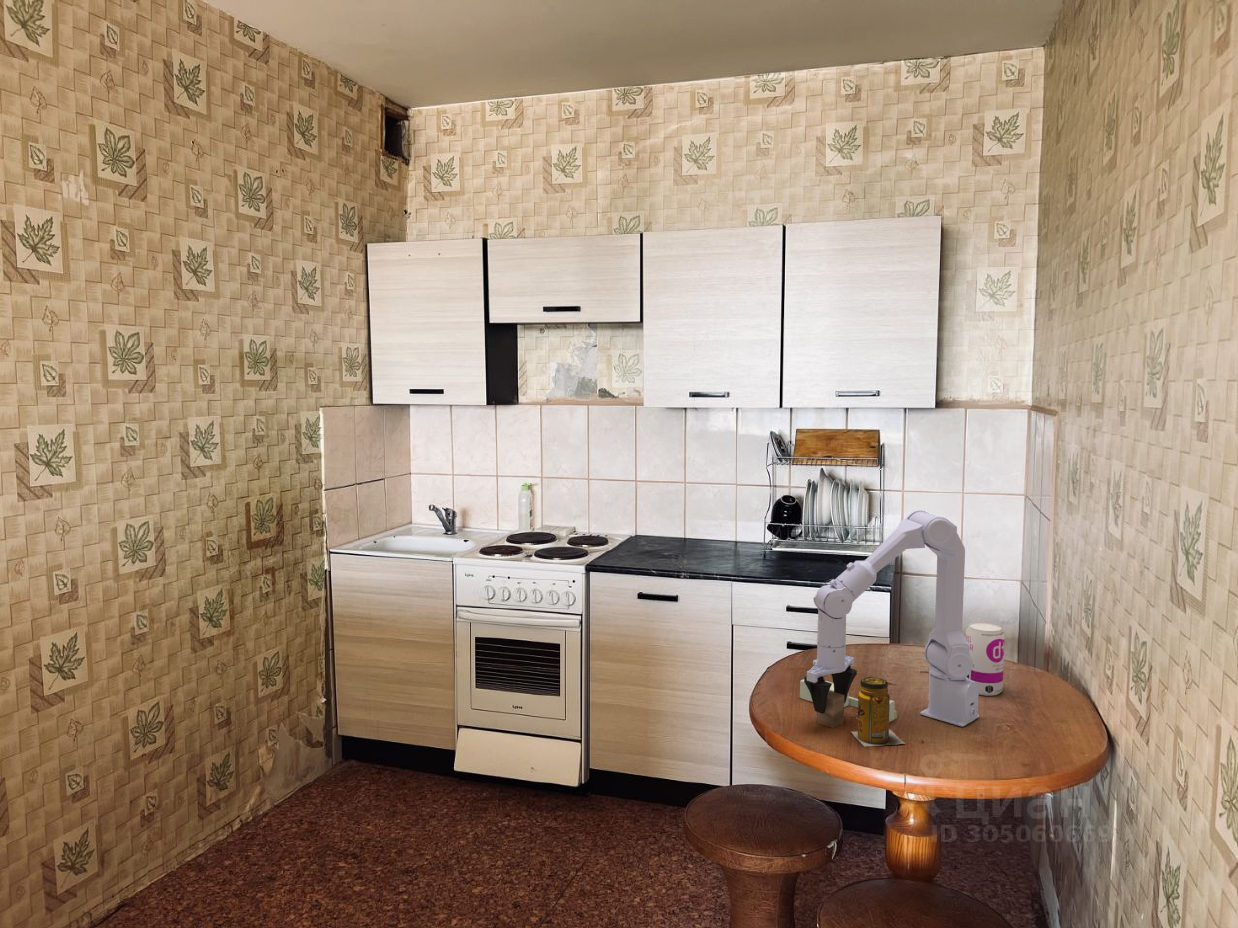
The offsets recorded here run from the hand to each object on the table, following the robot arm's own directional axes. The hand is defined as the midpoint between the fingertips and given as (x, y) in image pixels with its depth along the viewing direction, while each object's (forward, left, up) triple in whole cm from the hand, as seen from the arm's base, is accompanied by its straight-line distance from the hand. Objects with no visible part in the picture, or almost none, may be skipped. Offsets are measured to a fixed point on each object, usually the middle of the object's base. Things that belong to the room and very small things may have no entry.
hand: (830, 707), depth 180 cm
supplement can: (-14, -41, -4) cm, 44 cm away
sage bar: (+2, -9, -3) cm, 10 cm away
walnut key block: (0, 0, -3) cm, 3 cm away
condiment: (-11, 0, -4) cm, 12 cm away
